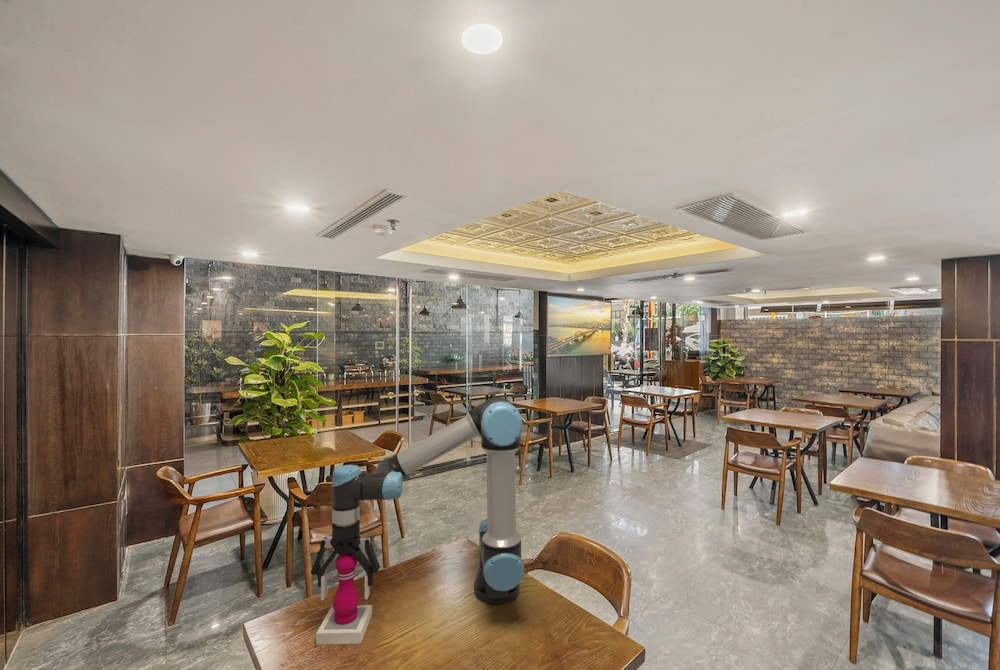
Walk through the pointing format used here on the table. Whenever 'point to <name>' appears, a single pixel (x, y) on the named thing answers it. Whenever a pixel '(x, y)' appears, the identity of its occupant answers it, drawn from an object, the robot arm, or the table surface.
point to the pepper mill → (345, 590)
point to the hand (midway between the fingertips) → (345, 596)
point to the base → (344, 628)
